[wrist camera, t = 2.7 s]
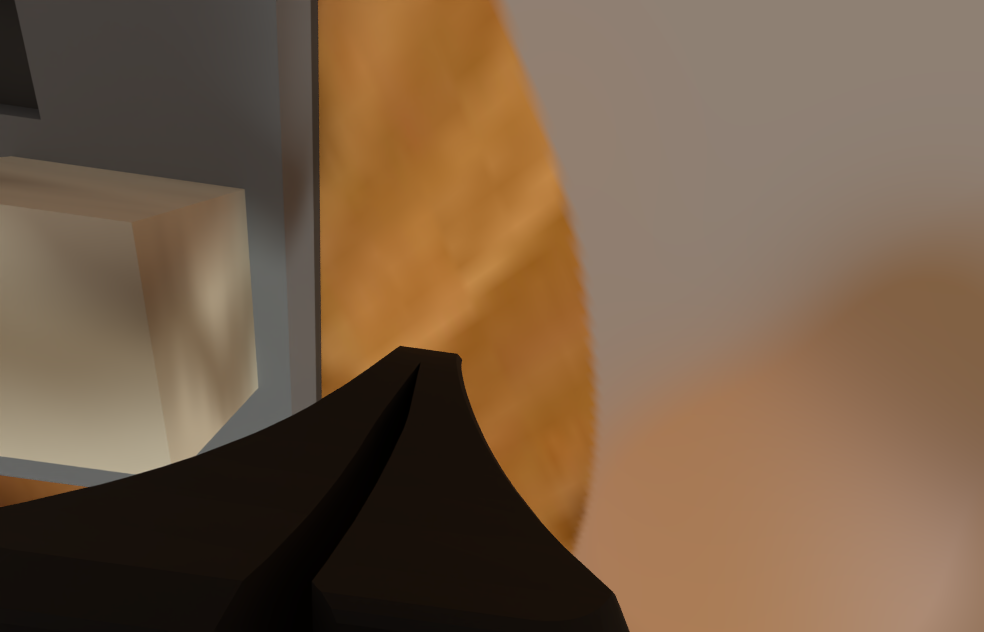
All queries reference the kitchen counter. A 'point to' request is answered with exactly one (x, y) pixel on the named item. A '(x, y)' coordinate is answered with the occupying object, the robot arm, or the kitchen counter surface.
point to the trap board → (188, 148)
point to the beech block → (120, 315)
